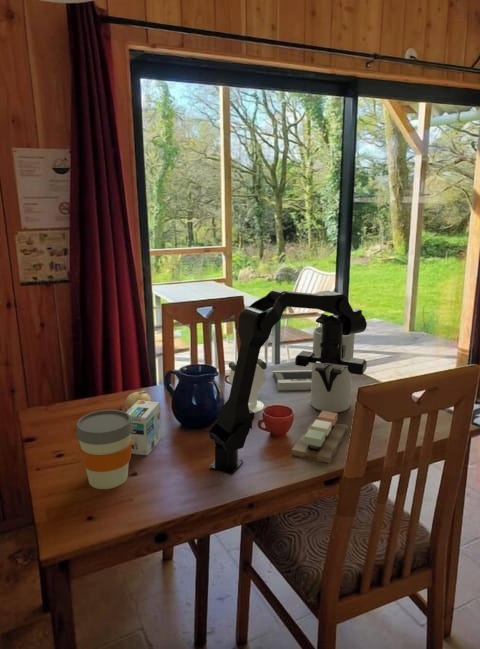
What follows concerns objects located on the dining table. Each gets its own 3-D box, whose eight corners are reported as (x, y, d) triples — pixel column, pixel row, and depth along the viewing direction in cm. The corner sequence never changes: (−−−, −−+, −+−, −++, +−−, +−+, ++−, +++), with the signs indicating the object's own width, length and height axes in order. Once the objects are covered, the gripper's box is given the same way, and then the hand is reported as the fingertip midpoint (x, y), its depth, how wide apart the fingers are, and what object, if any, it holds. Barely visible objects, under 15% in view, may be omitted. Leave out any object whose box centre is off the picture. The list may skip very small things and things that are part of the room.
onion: (144, 418, 148) (142, 397, 146) (121, 415, 151) (119, 393, 149) (156, 408, 156) (155, 387, 154) (134, 405, 158) (133, 384, 156)
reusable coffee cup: (122, 496, 110) (118, 435, 106) (70, 490, 112) (65, 430, 108) (143, 466, 122) (140, 411, 118) (95, 462, 124) (91, 407, 120)
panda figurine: (257, 397, 164) (258, 354, 160) (271, 410, 154) (272, 365, 150) (223, 402, 160) (223, 358, 156) (235, 416, 150) (235, 370, 146)
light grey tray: (278, 382, 169) (272, 363, 185) (277, 394, 171) (272, 375, 186) (327, 381, 170) (317, 362, 186) (326, 393, 172) (316, 374, 187)
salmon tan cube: (333, 430, 137) (333, 419, 136) (317, 427, 138) (318, 416, 138) (336, 424, 141) (337, 413, 140) (322, 421, 142) (322, 410, 141)
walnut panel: (329, 463, 123) (329, 457, 123) (291, 454, 128) (291, 449, 127) (347, 430, 141) (347, 425, 141) (313, 423, 145) (313, 418, 145)
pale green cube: (320, 452, 125) (320, 439, 124) (303, 448, 127) (304, 436, 126) (324, 444, 129) (325, 432, 128) (308, 441, 131) (309, 429, 130)
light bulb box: (148, 456, 127) (146, 418, 124) (123, 453, 128) (121, 415, 125) (162, 437, 137) (161, 401, 134) (139, 434, 138) (137, 399, 135)
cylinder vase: (349, 399, 163) (353, 326, 156) (350, 415, 151) (355, 337, 145) (311, 396, 165) (314, 324, 159) (309, 412, 153) (313, 335, 147)
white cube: (326, 441, 131) (327, 429, 130) (311, 437, 133) (311, 425, 132) (331, 434, 135) (331, 422, 134) (315, 430, 137) (316, 419, 136)
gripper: (372, 334, 136) (368, 387, 140) (307, 327, 144) (305, 377, 148) (364, 345, 126) (360, 401, 130) (295, 336, 134) (293, 389, 138)
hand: (329, 391), depth 137 cm, fingers closed
